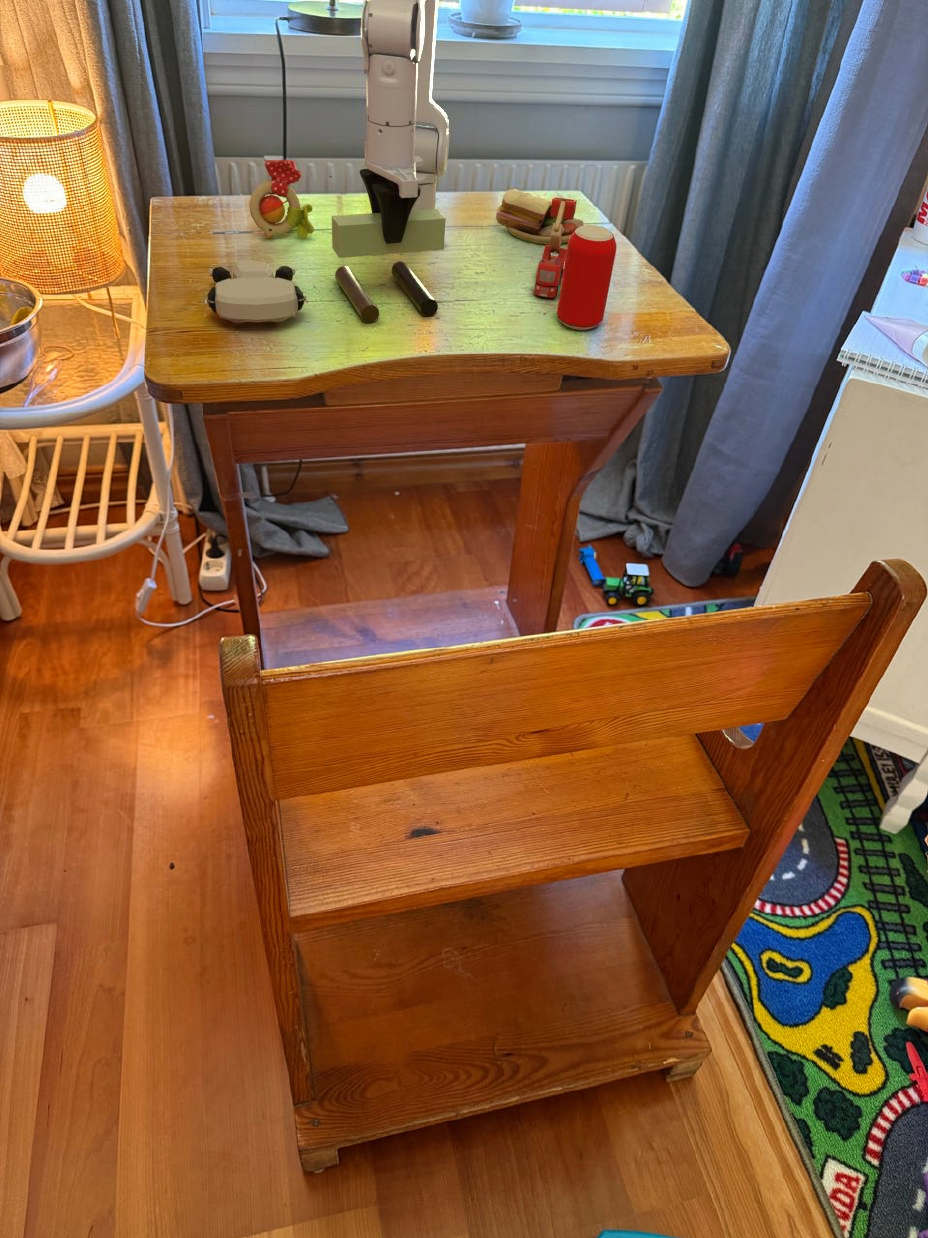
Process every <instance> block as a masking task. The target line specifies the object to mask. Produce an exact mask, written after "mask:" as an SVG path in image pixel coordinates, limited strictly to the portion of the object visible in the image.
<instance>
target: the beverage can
mask: <svg viewBox="0 0 928 1238" xmlns="http://www.w3.org/2000/svg"><path fill="white" fill-rule="evenodd" d="M617 248H618V247H617V241H616V238H615V236H614V233H613V231H611V230H610V229H608V228H607V227H604V226H601V225H596V224H584V225H583V226H580V227H578V228H577V229H576V230H575V231H574V232H573V234H572V235H571V236H570V238H569V240H568V242H567V245H566V249H567V251H566V257H565V262H564V268H563V269H564V270H563V277H562V280H561V283H560V291H559V297H558V303H557V309H556V315H557V319H558V321H559V322H560V323H562V324H563V325H564V326H566V327H567V328H570V329H572V330H577V331H587V330H591V329H593V328H596V327H598V326H599V325H600V324H601V323H602V322H603V320H604V317H605V311H606V305H607V300H608V297H609V290H610V285H611V280H612V275H613V269H614V264H615V259H616V254H617Z"/></svg>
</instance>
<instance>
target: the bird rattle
mask: <svg viewBox="0 0 928 1238" xmlns="http://www.w3.org/2000/svg"><path fill="white" fill-rule="evenodd" d="M264 167H265V170H266V172H267V174H268V175H269V176H270V179H269V180H266V181H263V182H262V183H260V184H259V185H257V186H256V187H255V189H254V190H253V191H252V193H251V195H250V199H249V213H250V215H251V218H252V219H253V222H254V224H255V225H256V226H257V227H258V229H260V230H261V231H262V232H263V234H264V237H265V238H266V239H271V238H272V237H273V236H278V235H283V234H287V232H292V231H293V230H295V229H296V232H297V236H298V238H300V239H303V240H304V239H306V238H307V237H308V235H309V234H310V235H312V234H313V233H314V232H315V228H314V226H313V224H312V223H311V221H310V220H309V213H312V212H313V206H312V205H311V204H309V203H306V204H304V205H303V206H301V203H300V199H299V197H298V196H297V195H298V194H297V193H296V192H295V190H294V188H292V187H291V186H290V185H291V184H295V183H298V182H299V181H300V179H301V178H302V173H301V171H300V170H299V169H296V165H295V162H294V160H287V159H286V158H283V159H280V160H267V161H265V163H264ZM280 197H281V198H285V199H286V200H285V201H283V200H282V199H281V198H280ZM286 203H288V206H287V208H285V204H286ZM286 209H287V211H286ZM285 214H286V216H285ZM283 219H284V220H283Z"/></svg>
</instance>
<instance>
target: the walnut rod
mask: <svg viewBox="0 0 928 1238" xmlns="http://www.w3.org/2000/svg"><path fill="white" fill-rule="evenodd" d="M334 273H335V274H334V278H335V280H336V281H337V284H338V285H339V287H340V288H341V289H342V291H343V292H344V294H345V295H346V297H347V299H348V300H349V301H350V303H351V305H352V306H353V308H354V309H355V311H356V312H357V314H358V315H359V317H360V318H361V320H362V321H363V322H364V323H367V324H372V323H375V322H376V321H377V320H378V318H379V317H380V310H379V308H378V307H377V305H376V304H375V302H374V301H373V299H372V298H371V297H370V295H369V294H368V292H367V290H366V289H365V288H364V286H363V284H362V283H361V282H360V281H359V279H358V278H357V276H356V275H355V273H354V272H353V270H352V269H351V267H349V266H347V265H341V266H339V267H338V268H337V269H336V270H335V272H334Z"/></svg>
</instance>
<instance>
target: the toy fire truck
mask: <svg viewBox="0 0 928 1238" xmlns="http://www.w3.org/2000/svg"><path fill="white" fill-rule="evenodd" d="M551 202H552V203H551V215H550V217H556V218H557V220H556V223H553V227H552V231H551V244H550V245H549V244H544V245H545V246H544V248H543V251H542V255H541V259H539V261H538V265H537V269H536V271H537V272H536V276H535V283H534V289H533V294H534V295H535V296H538V297H543V298H551V299H552V298H556V297H558V295H559V288H560V287H559V285H561V283H562V277H563V270H564V264H565V257H566V251H567V248H565V247H561V246H562V244H561V238H562V224H561V222H562V218H563V219H571V220H573V217H574V218H575V214H576V210H577V202H578V200H577V199H571V198H565V197H564V198H563V197H556V196H555V197H552V199H551ZM554 253H556V254H557V255H555V254H554Z"/></svg>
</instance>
